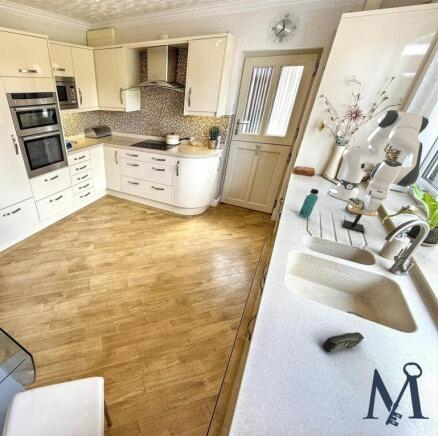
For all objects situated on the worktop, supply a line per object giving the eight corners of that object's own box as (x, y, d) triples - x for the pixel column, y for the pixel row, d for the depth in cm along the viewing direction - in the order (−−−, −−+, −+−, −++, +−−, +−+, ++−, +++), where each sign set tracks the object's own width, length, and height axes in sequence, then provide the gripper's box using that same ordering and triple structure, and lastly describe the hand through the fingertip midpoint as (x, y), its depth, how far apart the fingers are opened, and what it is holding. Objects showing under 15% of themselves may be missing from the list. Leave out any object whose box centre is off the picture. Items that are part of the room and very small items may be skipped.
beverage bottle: (308, 216, 157) (320, 188, 147) (309, 220, 151) (322, 192, 141) (297, 213, 159) (308, 186, 149) (298, 218, 154) (310, 190, 144)
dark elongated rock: (334, 345, 73) (371, 335, 76) (325, 337, 75) (361, 327, 78) (327, 354, 75) (363, 344, 78) (319, 345, 78) (354, 336, 81)
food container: (362, 219, 156) (370, 206, 151) (352, 217, 157) (360, 204, 152) (352, 210, 167) (359, 198, 162) (343, 209, 168) (349, 197, 162)
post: (342, 221, 153) (354, 200, 145) (362, 226, 148) (374, 205, 140) (343, 227, 145) (355, 206, 138) (363, 233, 141) (377, 211, 133)
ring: (346, 205, 150) (348, 202, 148) (374, 212, 143) (376, 208, 142) (348, 211, 139) (350, 207, 138) (378, 218, 132) (380, 215, 131)
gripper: (367, 183, 138) (356, 204, 145) (371, 194, 123) (358, 217, 130) (381, 186, 135) (369, 207, 142) (387, 197, 120) (373, 220, 127)
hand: (364, 212), depth 136 cm, fingers closed on ring, 2 cm apart
